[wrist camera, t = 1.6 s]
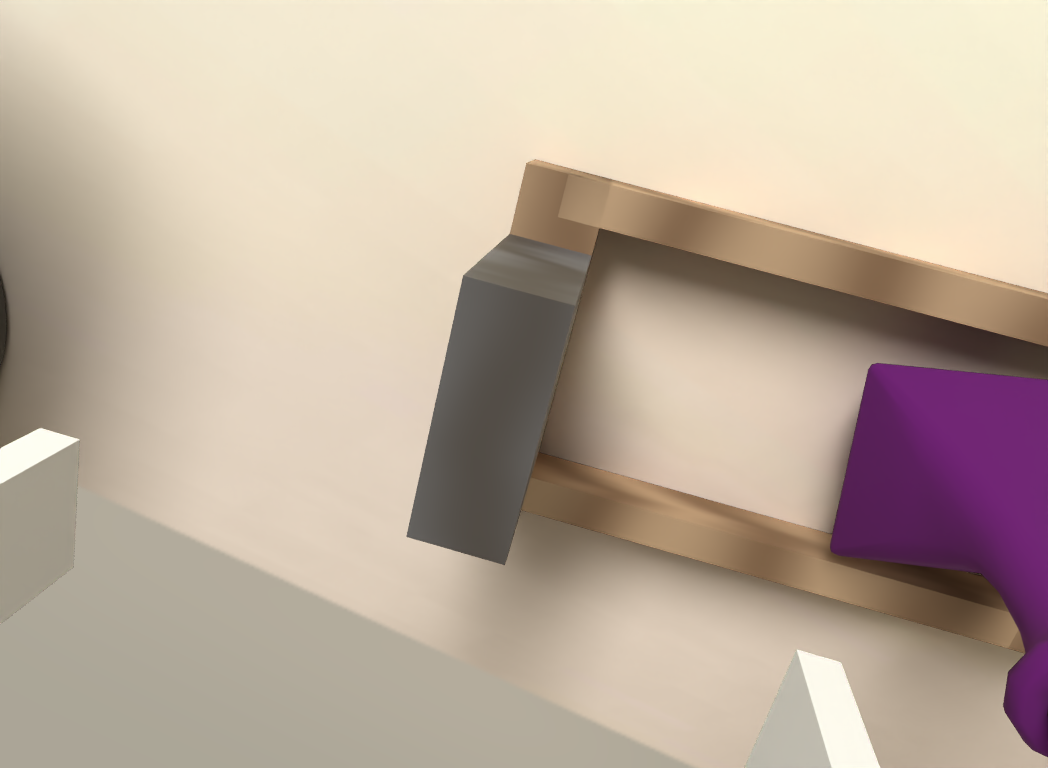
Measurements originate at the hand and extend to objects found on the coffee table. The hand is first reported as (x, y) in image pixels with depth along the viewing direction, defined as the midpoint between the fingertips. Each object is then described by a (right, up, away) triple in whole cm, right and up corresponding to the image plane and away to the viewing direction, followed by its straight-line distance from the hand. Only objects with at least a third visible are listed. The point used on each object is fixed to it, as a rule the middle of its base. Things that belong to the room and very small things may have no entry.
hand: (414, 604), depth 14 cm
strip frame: (+13, +3, +17) cm, 21 cm away
